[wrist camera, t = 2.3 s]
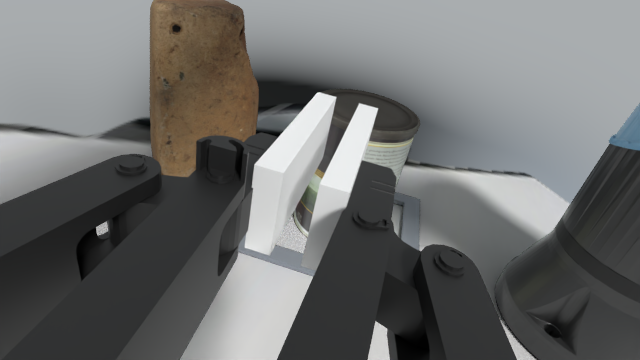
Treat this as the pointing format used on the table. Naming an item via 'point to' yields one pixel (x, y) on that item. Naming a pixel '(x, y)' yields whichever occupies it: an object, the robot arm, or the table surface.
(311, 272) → the flat grey frame
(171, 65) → the brown rough upright block
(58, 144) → the table surface
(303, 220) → the coffee can
